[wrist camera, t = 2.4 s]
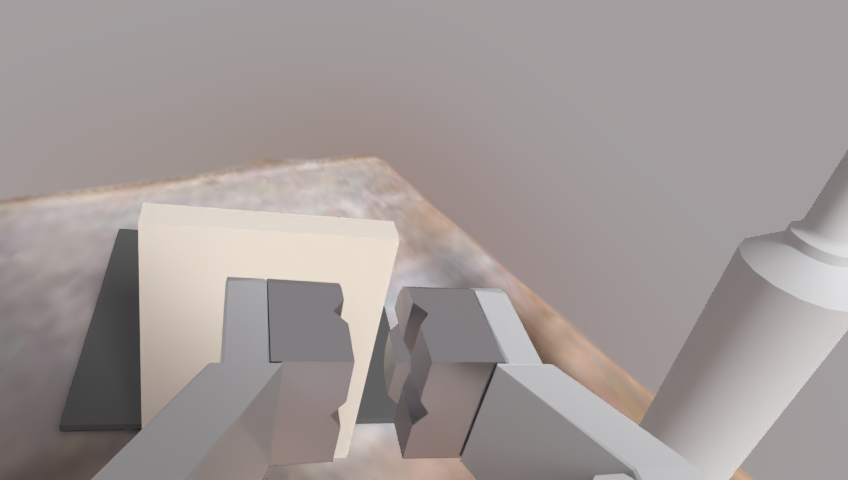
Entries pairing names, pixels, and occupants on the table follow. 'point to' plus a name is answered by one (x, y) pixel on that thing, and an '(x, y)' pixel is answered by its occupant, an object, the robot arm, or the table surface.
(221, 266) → the tile
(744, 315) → the bottle
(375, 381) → the mat
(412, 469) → the table surface
